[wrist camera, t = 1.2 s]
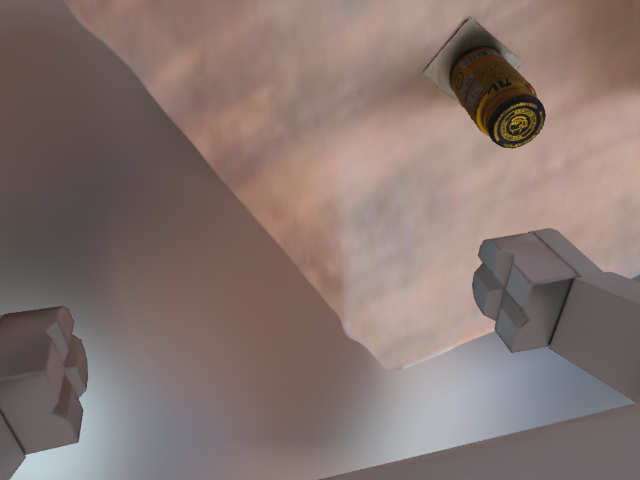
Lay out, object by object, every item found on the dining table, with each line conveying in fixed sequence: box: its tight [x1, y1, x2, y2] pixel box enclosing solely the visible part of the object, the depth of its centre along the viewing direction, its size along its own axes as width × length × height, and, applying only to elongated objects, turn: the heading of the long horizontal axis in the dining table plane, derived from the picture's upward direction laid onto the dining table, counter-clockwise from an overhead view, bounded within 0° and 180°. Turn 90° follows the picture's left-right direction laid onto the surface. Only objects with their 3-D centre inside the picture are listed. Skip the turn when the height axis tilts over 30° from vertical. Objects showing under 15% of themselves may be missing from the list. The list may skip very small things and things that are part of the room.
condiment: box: [422, 17, 546, 148], centre depth 52 cm, size 7×8×12 cm
